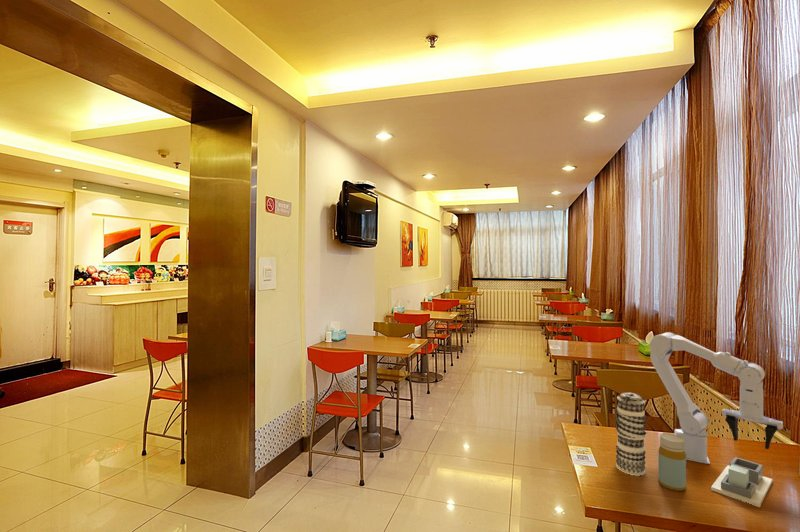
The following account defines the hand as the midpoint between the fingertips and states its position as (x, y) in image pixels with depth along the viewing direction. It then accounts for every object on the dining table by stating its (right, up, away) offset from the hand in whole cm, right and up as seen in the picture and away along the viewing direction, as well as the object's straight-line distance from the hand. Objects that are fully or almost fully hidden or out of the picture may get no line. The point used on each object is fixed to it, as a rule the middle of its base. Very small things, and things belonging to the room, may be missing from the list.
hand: (751, 443), depth 127 cm
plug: (-12, -10, -9) cm, 18 cm away
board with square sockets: (-8, -11, -6) cm, 14 cm away
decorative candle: (-37, -11, +4) cm, 38 cm away
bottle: (-29, -11, -5) cm, 32 cm away
